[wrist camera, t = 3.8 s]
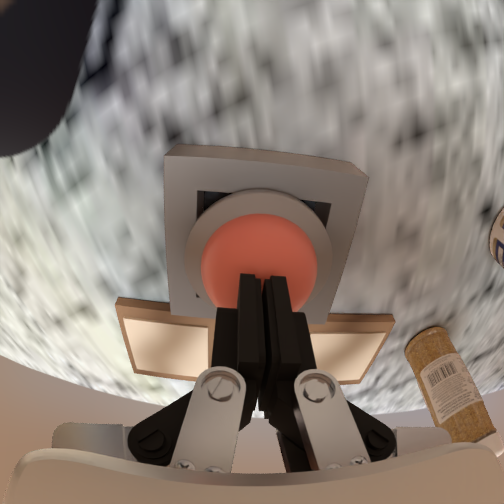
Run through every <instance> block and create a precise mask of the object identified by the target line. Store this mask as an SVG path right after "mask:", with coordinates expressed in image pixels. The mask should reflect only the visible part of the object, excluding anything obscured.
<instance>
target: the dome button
mask: <svg viewBox="0 0 504 504" xmlns="http://www.w3.org/2000/svg"><path fill="white" fill-rule="evenodd" d="M332 259H333V253H332V245H331V242H330V238H329V236H328V234H327V231H326V229H325V227H324V225H323V223H322V222H321V220H320V219H319V217H318V216H317V215H316V214H315V212H314V211H313V210H312V209H311V208H310V207H308V206H307V205H306V204H305V203H303V202H302V201H300V200H298V199H297V198H295V197H293V196H290V195H288V194H285V193H282V192H278V191H273V190H264V189H255V190H245V191H241V192H236V193H234V194H231V195H228V196H226V197H224V198H222V199H220V200H218V201H216V202H215V203H214V204H212V205H211V206H209V207H208V208H207V209H206V210H205V211H204V212H203V213H202V214H201V215H200V217H199V218H198V219H197V220H196V222H195V224H194V226H193V227H192V230H191V232H190V235H189V237H188V240H187V243H186V248H185V253H184V264H185V270H186V274H187V277H188V280H189V282H190V284H191V286H192V287H193V289H194V291H195V292H196V293H197V294H198V296H199V297H200V298H201V299H202V300H203V301H204V302H206V303H207V304H208V305H210V306H211V307H212V308H214V309H216V310H217V307H223V308H236V309H237V300H238V289H239V279H240V273H245V274H255V278H259V279H261V291H262V292H263V285H264V280H265V279H270V276H271V275H273V276H285V277H286V279H287V285H288V290H289V296H290V301H291V307H292V312H297V311H298V310H299V309H300V308H302V307H303V306H305V305H306V304H308V303H309V302H310V301H311V300H313V299H314V298H315V297H316V295H317V294H318V293H319V292H320V291H321V289H322V288H323V287H324V285H325V283H326V281H327V279H328V277H329V274H330V272H331V267H332Z"/></svg>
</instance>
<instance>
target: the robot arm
mask: <svg viewBox="0 0 504 504" xmlns="http://www.w3.org/2000/svg"><path fill="white" fill-rule="evenodd" d="M257 399H258V407H259V411H264V419H269V423H270V424H271V425H272V426H273V427H275V428H276V435H277V438H278V442H279V446H280V450H281V454H282V458H283V462H284V466H285V469H286V473H275V474H239V473H231V468H232V464H233V458H234V453H235V448H236V442H237V438H238V432H239V431H240V430H242V429H243V428H244V427H245V426H246V425H248V424H249V423H250V420H251V416H252V412H253V411H255V407H256V403H257ZM3 504H504V471H503V469H502V466H501V464H500V462H499V460H498V458H497V456H496V455H495V453H494V452H493V451H492V450H491V449H490V448H488V447H487V446H484V445H481V444H477V443H471V442H458V443H452V439H451V436H450V434H449V433H448V431H446V430H445V429H443V428H440V427H396V428H394V429H390V428H389V427H387V426H386V425H385V424H383V423H382V422H380V421H379V420H377V419H375V418H374V417H372V416H371V415H369V414H367V413H366V412H364V411H363V410H361V409H360V408H358V407H357V406H355V405H354V404H352V403H351V402H349V401H347V400H346V399H345V397H344V394H343V392H342V389H341V387H340V385H339V383H338V381H337V380H336V378H335V377H334V376H333V375H331V374H330V373H328V372H326V371H323V370H319V369H317V366H316V361H315V356H314V351H313V347H312V342H311V337H310V333H309V328H308V324H307V319H306V315H305V313H304V312H292V307H291V301H290V296H289V290H288V285H287V279H286V277H285V276H273V275H271V276H270V279H265V280H264V285H263V292H262V291H261V279H259V278H255V274H245V273H240V279H239V289H238V300H237V309H236V308H223V307H217V311H216V321H215V331H214V340H213V351H212V361H211V368H209V369H207V370H204V371H203V372H202V373H201V374H200V375H199V376H198V378H197V380H196V383H195V386H194V389H193V390H192V391H191V392H189V393H187V394H186V395H184V396H183V397H181V398H179V399H178V400H176V401H175V402H173V403H171V404H170V405H168V406H167V407H165V408H163V409H162V410H160V411H158V412H157V413H155V414H153V415H152V416H150V417H148V418H147V419H145V420H143V421H141V422H140V423H138V424H137V425H135V426H134V427H133V426H132V427H124V426H123V425H122V424H87V423H71V422H70V423H63V424H61V425H59V426H58V427H57V428H56V429H55V430H54V433H53V437H52V448H50V449H41V450H36V451H32V452H29V453H27V454H25V455H24V456H23V457H22V458H21V459H20V460H19V461H18V463H17V464H16V466H15V468H14V470H13V472H12V474H11V477H10V480H9V482H8V486H7V489H6V492H5V496H4V500H3Z"/></svg>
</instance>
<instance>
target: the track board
mask: <svg viewBox="0 0 504 504" xmlns="http://www.w3.org/2000/svg"><path fill="white" fill-rule="evenodd" d="M115 308H116V312H117V316H118V320H119V324H120V327H121V331H122V335H123V338H124V342H125V345H126V348H127V352H128V355H129V358H130V361H131V365H132V368H133V371H134V373H137V374H143V375H150V376H156V377H163V378H171V379H179V380H187V381H196V380H197V378H198V376H199V375H200V374H201V373H202V372H203V371H204V370H207V369H209V368H211V361H212V351H213V340H214V331H215V321H216V319H210V318H199V317H188V316H179V315H171V309H170V303H161V302H152V301H144V300H136V299H128V298H120V297H118V299H117V301H116V303H115ZM394 324H395V320H394V318H393V316H392V315H355V314H328V317H327V320H326V323H325V325H322V324H308V328H309V333H310V337H311V342H312V347H313V351H314V356H315V361H316V366H317V369H319V370H323V371H326V372H328V373H330V374H331V375H333V376H334V377H335V378H336V380H337V381H338V383H339V385H346V384H360V382H361V381H362V379H363V378H364V376H365V374H366V373H367V371H368V370H369V368H370V366H371V365H372V363H373V361H374V360H375V358H376V356H377V355H378V353H379V351H380V349H381V348H382V346H383V344H384V342H385V341H386V339H387V337H388V335H389V333H390V331H391V330H392V328H393V326H394Z"/></svg>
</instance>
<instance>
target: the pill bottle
mask: <svg viewBox="0 0 504 504" xmlns="http://www.w3.org/2000/svg"><path fill="white" fill-rule="evenodd" d="M490 251H491V254H492V256H493V257H494V259H495V260H496V261H497V262H498V263H499V264H500V265H501V266H502V267H503V268H504V209H503V210H502V211H501V212H500V213H499V215H498V217H497V219H496V221H495V223H494V225H493V228H492V231H491V235H490Z"/></svg>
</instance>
